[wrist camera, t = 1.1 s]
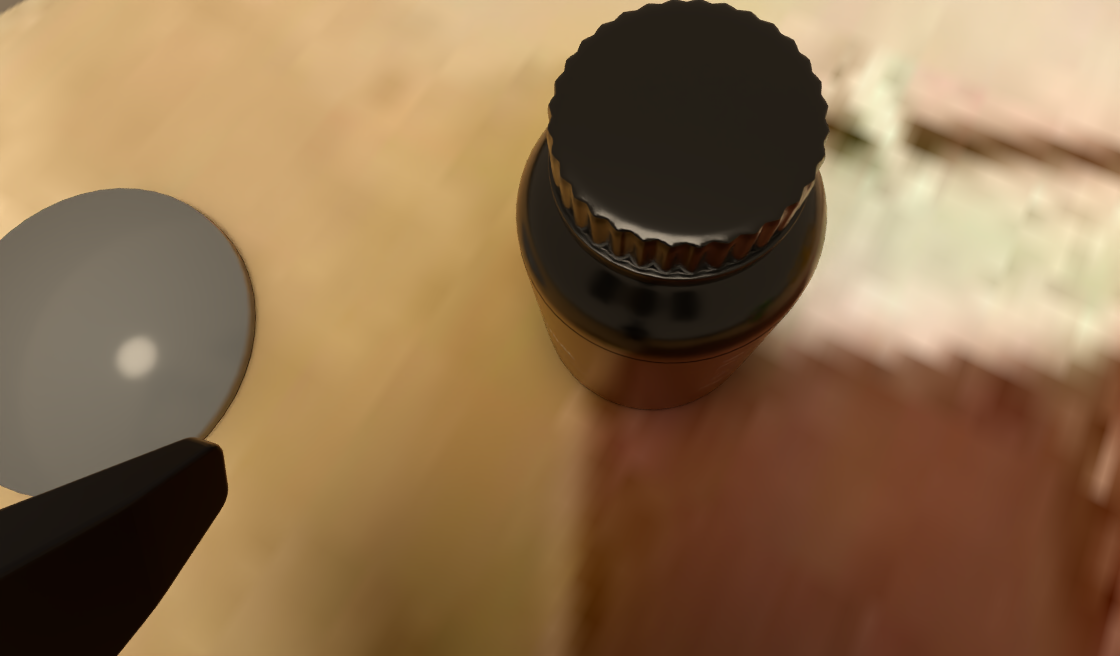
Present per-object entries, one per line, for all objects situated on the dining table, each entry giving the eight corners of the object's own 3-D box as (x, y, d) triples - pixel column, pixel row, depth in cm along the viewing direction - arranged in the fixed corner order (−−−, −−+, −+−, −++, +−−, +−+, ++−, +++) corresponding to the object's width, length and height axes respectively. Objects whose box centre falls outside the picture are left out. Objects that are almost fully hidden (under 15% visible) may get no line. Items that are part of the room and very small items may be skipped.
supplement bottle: (507, 342, 23) (401, 168, 12) (617, 184, 25) (619, -114, 13) (685, 457, 22) (762, 387, 10) (793, 283, 23) (969, 46, 12)
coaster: (256, 475, 23) (247, 473, 22) (-64, 520, 23) (-82, 520, 23) (253, 174, 26) (245, 166, 25) (-31, 219, 26) (-46, 213, 26)
